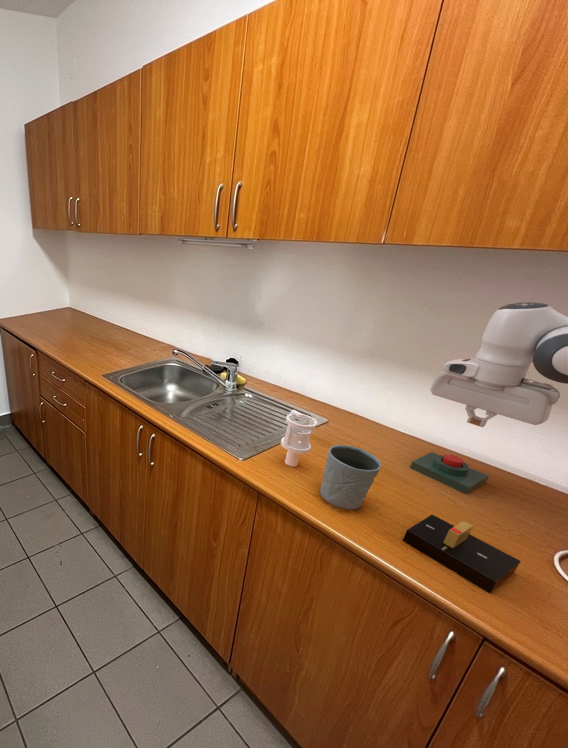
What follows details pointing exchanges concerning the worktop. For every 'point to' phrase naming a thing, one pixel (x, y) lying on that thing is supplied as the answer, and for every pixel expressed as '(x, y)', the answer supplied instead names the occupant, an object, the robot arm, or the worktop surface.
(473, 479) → the switch box
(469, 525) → the lock knob
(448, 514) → the worktop surface
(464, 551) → the lock plate
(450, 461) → the button
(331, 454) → the grey plant pot
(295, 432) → the strainer
